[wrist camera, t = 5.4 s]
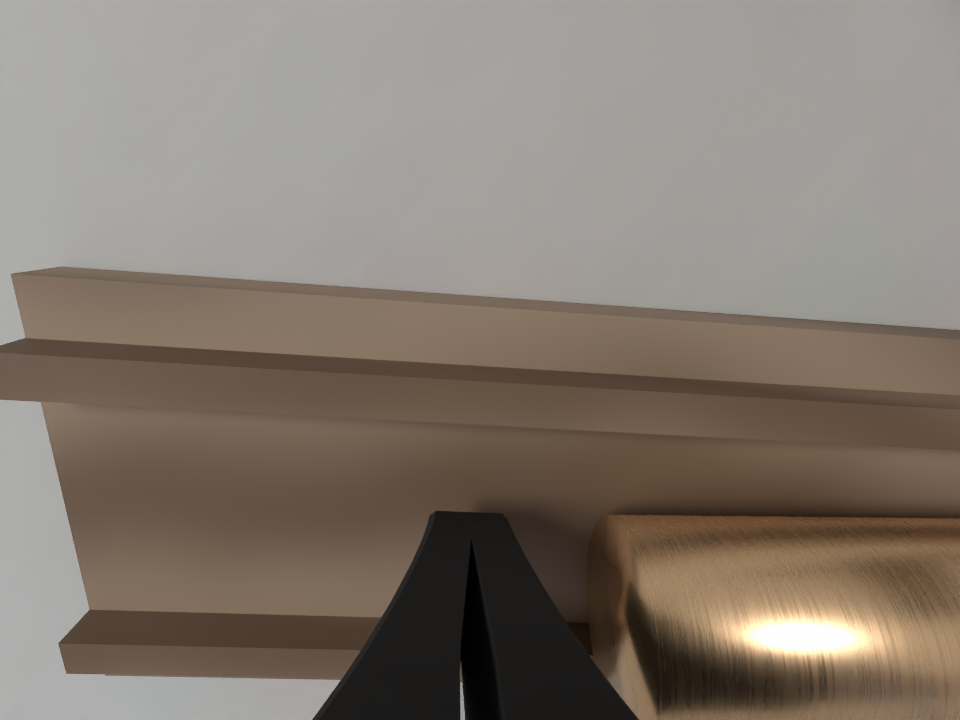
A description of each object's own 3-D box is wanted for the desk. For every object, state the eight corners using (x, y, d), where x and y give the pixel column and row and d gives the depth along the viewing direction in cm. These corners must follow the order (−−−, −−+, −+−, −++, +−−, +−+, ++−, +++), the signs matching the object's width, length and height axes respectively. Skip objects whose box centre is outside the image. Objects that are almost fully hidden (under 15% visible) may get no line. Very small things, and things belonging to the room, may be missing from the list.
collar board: (1114, 659, 13) (1694, 1057, 7) (135, 636, 11) (-245, 1134, 5) (1319, 355, 10) (2594, 573, 4) (60, 266, 9) (-936, 408, 2)
